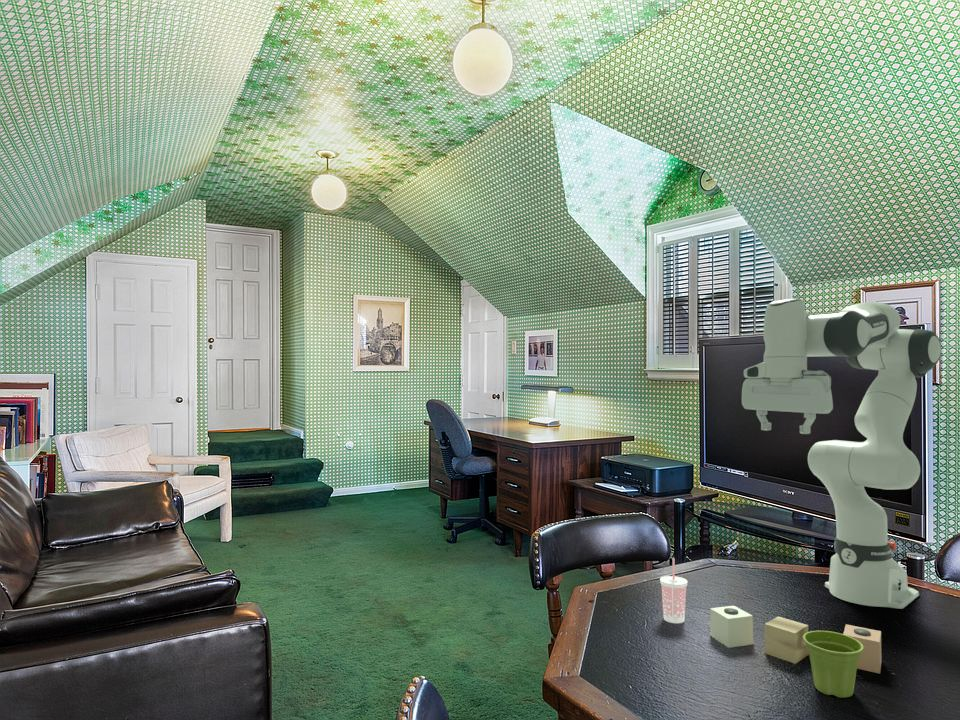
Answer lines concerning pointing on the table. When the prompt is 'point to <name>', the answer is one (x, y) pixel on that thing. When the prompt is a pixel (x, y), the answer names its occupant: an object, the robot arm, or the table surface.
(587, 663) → the table surface
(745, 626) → the dot block cream
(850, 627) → the dot block tan
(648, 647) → the table surface
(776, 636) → the oak block
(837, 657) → the plant pot
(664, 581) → the beverage cup
